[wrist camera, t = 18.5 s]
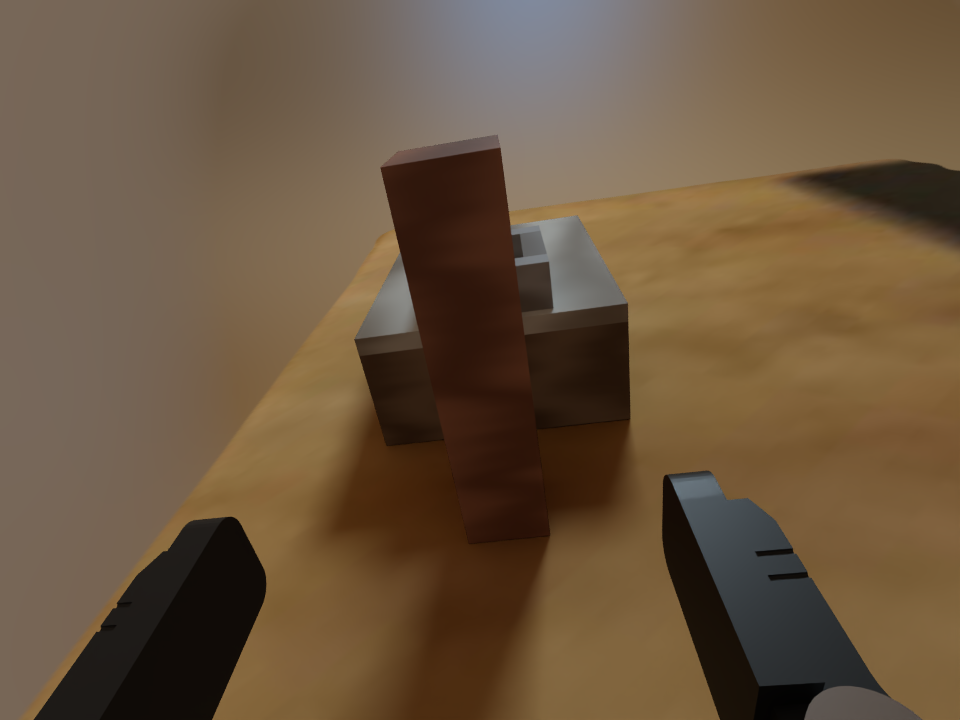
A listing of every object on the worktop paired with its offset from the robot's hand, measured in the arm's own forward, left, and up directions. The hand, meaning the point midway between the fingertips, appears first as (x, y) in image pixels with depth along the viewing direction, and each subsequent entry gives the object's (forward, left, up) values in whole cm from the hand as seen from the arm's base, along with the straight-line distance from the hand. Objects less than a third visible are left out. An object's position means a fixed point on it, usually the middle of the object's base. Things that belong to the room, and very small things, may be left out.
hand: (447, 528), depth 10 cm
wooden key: (0, -11, -11) cm, 15 cm away
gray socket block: (0, -26, -11) cm, 28 cm away
